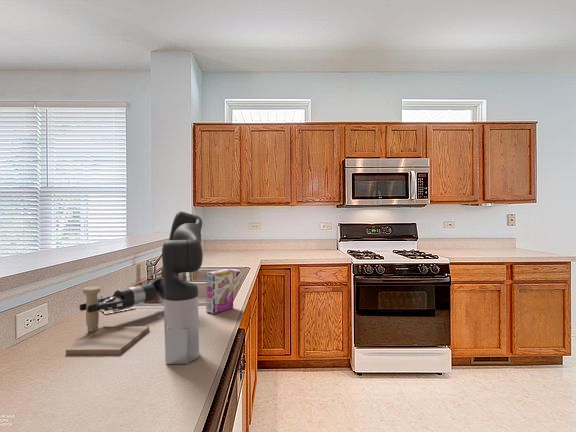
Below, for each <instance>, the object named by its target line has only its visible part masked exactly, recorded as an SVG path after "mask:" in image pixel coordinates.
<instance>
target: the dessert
mask: <svg viewBox="0 0 576 432" xmlns="http://www.w3.org/2000/svg"><path fill="white" fill-rule="evenodd" d="M132 309H133V310H135V309H136V306H134V307H133V308H132ZM113 310H117V309H113ZM125 310H127V311H132V310H131V308H127V309H123V310H117V311H116V312H117V313H121V312H120V311H122V312H126V311H125ZM105 312H106V311H105ZM105 312H104V313H103V314H104V315H110V314H109V313H112V314H115V313H114V312H115V311H112V312H108V313H107V312H106V313H105Z"/></svg>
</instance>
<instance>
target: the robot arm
mask: <svg viewBox="0 0 576 432" xmlns="http://www.w3.org/2000/svg"><path fill="white" fill-rule="evenodd" d="M202 227H203V220H202V218H201V217H200V216H198V215H195V214H191V213H188V212H185V211H181V210H180V211H177V213H176V214H175V215H174V219H173V221H172V225H171V228H170V233H169V239H168V240H166V241H164V243H163V245H162V249H161V261H162V262H161V263H162V269H161V272H160V274H161V277H158V278H156V279H154V280H152V281H150V282H149V283H147V284H143V285H137V286H131V287H125V288H122V289H117V290H115V291H114V293H113V295H108V296H105V297H103V296H97V300H98V304H95V305H90V306H88V307H87V312H88V313H90V312H94V311H100V312H102V310H103V311H105V312H107V311H111V310H113V309H118V310H117V311H122V310H127V309H131V307H138V306H140V305H142V304H143V305H144V304H147V303H150V302H152V301H154V300H156V298H157V296H159V297H160V298H161V299H162V300H163V304H164V305H163V308H164V309H163V310H164V311H163V315H164V317H163V319H164V320H163V322H164V360H165V365H188V364H190V363H191V362H193V361H196V360H197V359H198V358H200V335H199V334H200V329H199V325H200V323H199V322H200V321H199V288H198V286H197V284H194V283H192V282H189V281H188V282H187V281H185V280H183V279H181V278H179V275H180V274H183V273H184V274H185V273H187V274H188V273H195V272H197V271H199V270H200V268H201V267H202V264H203V259H204V253H203V248H202ZM79 311H81V312H82V311H86V302H84V303H80V304H79Z"/></svg>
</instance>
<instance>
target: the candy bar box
mask: <svg viewBox="0 0 576 432" xmlns="http://www.w3.org/2000/svg"><path fill="white" fill-rule="evenodd" d="M205 275H206V276H205V277H206V278H205V279H206V282H205V284H206V286H205V293H206V294H205V295H206V297H205V298H206V299H205V302H206V303H205V305H206V306H205V307H206V309H205V311H206V313H208V314H211V315H216V314H219V313H222V312H225V311H228V310H230V309H233V308H234V270H233V269H226V268H225V269H224V268H223V269H219V270H213V271H208V272H206V274H205Z"/></svg>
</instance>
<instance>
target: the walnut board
mask: <svg viewBox="0 0 576 432" xmlns="http://www.w3.org/2000/svg"><path fill="white" fill-rule="evenodd" d="M148 332H150V326H148V325H146V326H145V325H144V326H142V325H141V326H140V325H138V326H135V325H134V326H128V325H127V326H102V327H101V328H98V329H97V331H94V332H91V334H89V335H87V336H86V337H84V338H82V339H81V340H79V341H78V342H76V343H74V344H73V345H71V346H69V347H68V348H66V349H65V355H66V356H68V355H69V356H70V355H71V356H79V355H81V356H84V355H85V356H89V355H91V356H92V355H95V356H99V355H100V356H102V355H103V356H105V355H106V356H107V355H108V356H109V355H112V356H113V355H117V356H118V355H119V356H120V355H122V354H123V353H124V352H126V350H128V349H129V348H130V347H132V346H133V344H135V343H136V342H138V341H139V340H140V339H141V338H142V337H143V336H144V335H146V334H147V333H148Z"/></svg>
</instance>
